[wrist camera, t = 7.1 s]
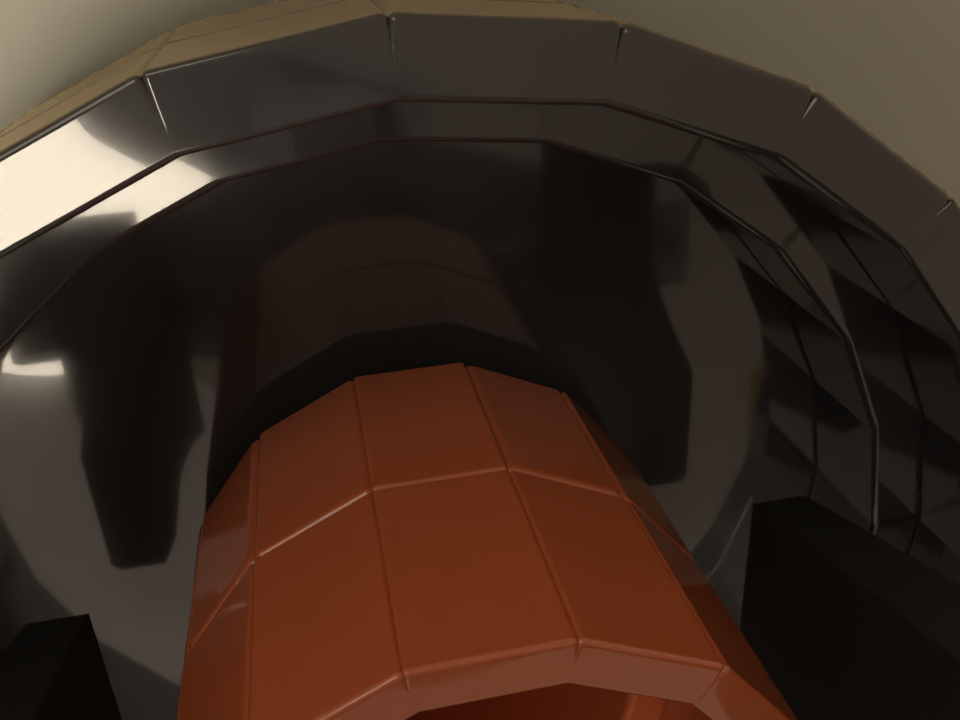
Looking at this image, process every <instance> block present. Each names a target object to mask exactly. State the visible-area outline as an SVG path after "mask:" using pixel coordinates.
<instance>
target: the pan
mask: <svg viewBox="0 0 960 720" xmlns="http://www.w3.org/2000/svg"><path fill="white" fill-rule="evenodd" d="M458 362H462V363H464V364H465V366H476V367H479V368H483V369H486V370H490V371H493V372H496V373H500V374H503V375H507V376H510V377H514V378H517V379H521V380H524V381H528V382H531V383H535V384H538V385H542V386H545V387H549V388H552V389H556V390H558V391H559V392H560V393H561V392H564V393H567V394H568V395H569V396H570V397H571V398H572V399H573V400H574V401H575V402H576V403H577V404H578V405H579V406H580V407H581V408H582V409H583V410H584V411H585V412H586V413H588V414H589V415H590V416H591V417H592V418H593V419H594V420H595V421H596V422H597V423H598V424H599V425H600V426H601V427H602V428H603V429H604V430H605V431H606V432H607V433H608V434H609V435H610V436H611V437H612V438H613V439H614V440H615V441H616V442H617V443H618V444H619V445H620V446H621V447H622V448H623V449H624V450H625V451H626V453H627V455H628V456H629V458H630V459H631V461H632V462H633V464H634V466H635V467H636V469H637V470H638V472H639V473H640V475H641V476H642V478H643V480H644V481H645V483H646V484H647V486H648V487H649V489H650V491H651V492H652V494H653V495H654V497H655V498H656V500H657V501H658V503H659V505H660V506H661V508H662V509H663V511H664V512H665V514H666V516H667V517H668V519H669V520H670V522H671V523H672V525H673V526H674V528H675V530H676V531H677V533H678V534H679V536H680V537H681V539H682V541H683V542H684V544H685V545H686V547H687V548H688V550H689V551H690V553H691V555H692V556H693V559H694V561H695V562H696V563H697V564H698V565H699V567H700V568H701V570H702V572H703V573H704V575H705V576H706V578H707V579H708V581H709V583H710V584H711V586H712V587H713V589H714V590H715V592H716V593H717V595H718V597H719V598H720V600H721V601H722V603H723V604H724V606H725V608H726V609H727V611H728V612H729V614H730V615H731V617H732V618H733V620H734V622H735V623H736V625H737V626H738V628H739V629H740V620H741V611H742V602H743V593H744V583H745V574H746V565H747V555H748V546H749V537H750V528H751V518H752V509H753V504H755V503H761V502H767V501H773V500H779V499H785V498H791V497H797V496H805V497H807V498H809V499H811V500H813V501H815V502H817V503H819V504H820V505H822V506H824V507H826V508H828V509H830V510H831V511H833V512H835V513H837V514H839V515H840V516H842V517H844V518H846V519H848V520H849V521H851V522H853V523H854V524H856V525H858V526H860V527H861V528H863V529H865V530H867V531H868V532H870V533H872V534H874V535H875V536H877V537H879V538H880V539H882V540H884V541H886V542H887V543H889V544H891V545H892V546H894V547H896V548H898V549H899V550H901V551H903V552H905V553H906V554H908V555H910V556H911V557H913V558H915V559H917V560H918V561H920V562H922V563H924V564H925V565H927V566H929V567H930V568H932V569H934V570H936V571H937V572H939V573H941V574H943V575H944V576H946V577H948V578H950V579H951V580H953V581H955V582H957V583H959V584H960V207H959V206H958V204H957V202H956V201H955V200H954V199H952V198H950V197H948V195H947V193H946V191H945V190H943V189H942V188H941V187H940V186H938V185H937V184H936V183H935V182H933V181H932V180H931V179H930V178H928V177H927V176H926V175H924V174H923V173H922V172H921V171H919V170H918V169H917V168H916V167H914V166H913V165H912V164H911V163H909V162H908V161H907V160H905V159H904V158H903V157H902V156H900V155H899V154H898V153H897V152H895V151H894V150H893V149H892V148H890V147H889V146H888V145H886V144H885V143H884V142H883V141H881V140H880V139H879V138H878V137H876V136H875V135H874V134H873V133H871V132H870V131H869V130H867V129H866V128H865V127H864V126H862V125H861V124H860V123H859V122H857V121H856V120H855V119H854V118H852V117H851V116H850V115H848V114H847V113H846V112H845V111H843V110H842V109H841V108H840V107H838V106H837V105H836V104H835V103H833V102H832V101H831V100H829V99H828V98H827V97H826V96H824V95H823V94H822V93H819V92H816V91H813V90H811V89H810V88H809V87H808V86H807V85H805V84H802V83H799V82H796V81H793V80H790V79H788V78H785V77H782V76H779V75H776V74H773V73H771V72H768V71H765V70H762V69H759V68H756V67H754V66H751V65H748V64H745V63H742V62H739V61H737V60H734V59H731V58H728V57H725V56H722V55H720V54H717V53H714V52H711V51H708V50H705V49H703V48H700V47H697V46H694V45H691V44H688V43H686V42H683V41H680V40H677V39H674V38H671V37H669V36H666V35H663V34H660V33H657V32H654V31H651V30H649V29H646V28H643V27H640V26H637V25H634V24H632V23H629V22H626V21H623V20H620V19H617V18H614V17H611V16H608V15H605V14H602V13H599V12H596V11H593V10H590V9H587V8H584V7H580V6H578V5H575V4H572V3H569V2H566V1H563V0H281V1H277V2H273V3H269V4H264V5H260V6H256V7H252V8H248V9H244V10H240V11H235V12H231V13H227V14H223V15H219V16H215V17H210V18H206V19H202V20H198V21H194V22H190V23H186V24H182V25H181V26H179V27H178V29H177V30H170V31H167V32H165V33H163V34H161V35H160V36H158V37H156V38H155V39H153V40H151V41H149V42H148V43H146V44H144V45H142V46H141V47H139V48H137V49H135V50H134V51H132V52H130V53H129V54H127V55H125V56H123V57H122V58H120V59H118V60H116V61H115V62H113V63H111V64H109V65H108V66H106V67H104V68H102V69H101V70H99V71H97V72H96V73H94V74H92V75H90V76H89V77H87V78H85V79H83V80H82V81H80V82H78V83H76V84H75V85H73V86H71V87H70V88H68V89H66V90H64V91H63V92H61V93H59V94H57V95H56V96H54V97H52V98H50V99H49V100H47V101H45V102H43V103H42V104H40V105H38V106H37V107H35V108H33V109H31V110H30V111H28V112H26V113H25V114H23V115H22V116H21V117H20V118H19V119H17V120H16V121H14V122H13V123H11V124H10V125H9V126H8V127H7V128H5V129H4V130H3V131H2V132H0V654H1V653H2V652H3V651H4V650H5V648H6V647H7V646H8V645H9V644H10V642H11V641H12V640H13V639H14V637H15V636H16V635H17V634H18V633H19V631H20V630H21V629H22V628H23V627H24V625H25V624H28V623H34V622H41V621H47V620H53V619H59V618H65V617H71V616H77V615H83V614H89V616H90V619H91V622H92V625H93V628H94V632H95V635H96V638H97V641H98V644H99V647H100V651H101V654H102V657H103V660H104V663H105V667H106V670H107V673H108V676H109V679H110V683H111V686H112V689H113V692H114V695H115V698H116V702H117V705H118V708H119V711H120V714H121V718H122V720H176V717H177V709H178V701H179V693H180V685H181V676H182V668H183V664H184V654H185V646H186V638H187V630H188V621H189V613H190V605H191V597H192V589H193V581H194V572H195V564H196V556H197V548H198V540H199V531H200V528H201V526H202V524H203V523H204V516H205V513H206V512H207V510H208V509H209V507H210V506H211V504H212V503H213V501H214V500H215V498H216V497H217V495H218V494H219V492H220V491H221V489H222V488H223V486H224V485H225V483H226V482H227V480H228V479H229V477H230V476H231V474H232V473H233V471H234V470H235V468H236V467H237V465H238V464H239V462H240V461H241V459H242V458H243V456H244V455H245V453H246V452H247V450H248V449H249V447H250V446H251V444H253V443H254V442H255V441H256V440H257V439H258V440H259V436H260V435H261V433H262V432H264V431H265V430H267V429H269V428H270V427H272V426H274V425H275V424H277V423H279V422H280V421H282V420H284V419H285V418H287V417H289V416H290V415H292V414H294V413H295V412H297V411H299V410H300V409H302V408H304V407H305V406H307V405H309V404H311V403H312V402H314V401H316V400H317V399H319V398H321V397H322V396H324V395H326V394H327V393H329V392H331V391H332V390H334V389H336V388H337V387H339V386H341V385H342V384H344V383H346V382H347V381H351V380H352V381H354V378H355V377H358V376H365V375H372V374H379V373H386V372H394V371H401V370H408V369H415V368H422V367H430V366H437V365H444V364H451V363H458Z"/></svg>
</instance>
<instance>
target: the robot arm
mask: <svg viewBox="0 0 960 720" xmlns="http://www.w3.org/2000/svg"><path fill="white" fill-rule="evenodd" d="M740 631H741V633H742V634H743V636H744V637H745V639H746V640H747V642H748V643H749V645H750V647H751V648H752V650H753V651H754V653H755V654H756V656H757V658H758V659H759V661H760V662H761V664H762V665H763V667H764V668H765V670H766V672H767V673H768V675H769V676H770V678H771V679H772V681H773V683H774V684H775V686H776V687H777V689H778V690H779V692H780V693H781V695H782V697H783V698H784V700H785V701H786V703H787V704H788V706H789V708H790V709H791V711H792V712H793V714H794V715H795V717H796V718H797V720H960V584H959V583H957V582H955V581H953V580H951V579H950V578H948V577H946V576H944V575H943V574H941V573H939V572H937V571H936V570H934V569H932V568H930V567H929V566H927V565H925V564H924V563H922V562H920V561H918V560H917V559H915V558H913V557H911V556H910V555H908V554H906V553H905V552H903V551H901V550H899V549H898V548H896V547H894V546H892V545H891V544H889V543H887V542H886V541H884V540H882V539H880V538H879V537H877V536H875V535H874V534H872V533H870V532H868V531H867V530H865V529H863V528H861V527H860V526H858V525H856V524H854V523H853V522H851V521H849V520H848V519H846V518H844V517H842V516H840V515H839V514H837V513H835V512H833V511H831V510H830V509H828V508H826V507H824V506H822V505H820V504H819V503H817V502H815V501H813V500H811V499H809V498H807V497H805V496H797V497H791V498H785V499H779V500H773V501H767V502H761V503H755V504H753V509H752V518H751V528H750V537H749V546H748V555H747V565H746V574H745V583H744V593H743V602H742V611H741V620H740ZM0 720H122V718H121V714H120V711H119V708H118V705H117V702H116V698H115V695H114V692H113V689H112V686H111V683H110V679H109V676H108V673H107V670H106V667H105V663H104V660H103V657H102V654H101V651H100V647H99V644H98V641H97V638H96V635H95V632H94V628H93V625H92V622H91V619H90V616H89V614H83V615H77V616H71V617H65V618H59V619H53V620H47V621H41V622H34V623H28V624H25V625H24V627H23V628H22V629H21V630H20V631H19V633H18V634H17V635H16V636H15V637H14V639H13V640H12V641H11V642H10V644H9V645H8V646H7V647H6V648H5V650H4V651H3V652H2V653H1V654H0Z"/></svg>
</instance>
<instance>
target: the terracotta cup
mask: <svg viewBox="0 0 960 720" xmlns="http://www.w3.org/2000/svg"><path fill="white" fill-rule="evenodd" d="M176 720H797V718H796V717H795V715H794V714H793V712H792V711H791V709H790V708H789V706H788V704H787V703H786V701H785V700H784V698H783V697H782V695H781V693H780V692H779V690H778V689H777V687H776V686H775V684H774V683H773V681H772V679H771V678H770V676H769V675H768V673H767V672H766V670H765V668H764V667H763V665H762V664H761V662H760V661H759V659H758V658H757V656H756V654H755V653H754V651H753V650H752V648H751V647H750V645H749V643H748V642H747V640H746V639H745V637H744V636H743V634H742V633H741V631H740V629H739V628H738V626H737V625H736V623H735V622H734V620H733V618H732V617H731V615H730V614H729V612H728V611H727V609H726V608H725V606H724V604H723V603H722V601H721V600H720V598H719V597H718V595H717V593H716V592H715V590H714V589H713V587H712V586H711V584H710V583H709V581H708V579H707V578H706V576H705V575H704V573H703V572H702V570H701V568H700V567H699V565H698V564H697V563H696V562H695V561H694V559H693V556H692V555H691V553H690V551H689V550H688V548H687V547H686V545H685V544H684V542H683V541H682V539H681V537H680V536H679V534H678V533H677V531H676V530H675V528H674V526H673V525H672V523H671V522H670V520H669V519H668V517H667V516H666V514H665V512H664V511H663V509H662V508H661V506H660V505H659V503H658V501H657V500H656V498H655V497H654V495H653V494H652V492H651V491H650V489H649V487H648V486H647V484H646V483H645V481H644V480H643V478H642V476H641V475H640V473H639V472H638V470H637V469H636V467H635V466H634V464H633V462H632V461H631V459H630V458H629V456H628V455H627V453H626V451H625V450H624V449H623V448H622V447H621V446H620V445H619V444H618V443H617V442H616V441H615V440H614V439H613V438H612V437H611V436H610V435H609V434H608V433H607V432H606V431H605V430H604V429H603V428H602V427H601V426H600V425H599V424H598V423H597V422H596V421H595V420H594V419H593V418H592V417H591V416H590V415H589V414H588V413H586V412H585V411H584V410H583V409H582V408H581V407H580V406H579V405H578V404H577V403H576V402H575V401H574V400H573V399H572V398H571V397H570V396H569V395H568V394H567V393H564V392H561V393H560V392H559V391H558V390H556V389H552V388H549V387H545V386H542V385H538V384H535V383H531V382H528V381H524V380H521V379H517V378H514V377H510V376H507V375H503V374H500V373H496V372H493V371H490V370H486V369H483V368H479V367H476V366H465V364H464V363H462V362H458V363H451V364H444V365H437V366H430V367H422V368H415V369H408V370H401V371H394V372H386V373H379V374H372V375H365V376H358V377H355V378H354V381H352V380H351V381H347V382H346V383H344V384H342V385H341V386H339V387H337V388H336V389H334V390H332V391H331V392H329V393H327V394H326V395H324V396H322V397H321V398H319V399H317V400H316V401H314V402H312V403H311V404H309V405H307V406H305V407H304V408H302V409H300V410H299V411H297V412H295V413H294V414H292V415H290V416H289V417H287V418H285V419H284V420H282V421H280V422H279V423H277V424H275V425H274V426H272V427H270V428H269V429H267V430H265V431H264V432H262V433H261V435H260V436H259V440H258V439H257V440H256V441H255V442H254V443H253V444H251V446H250V447H249V449H248V450H247V452H246V453H245V455H244V456H243V458H242V459H241V461H240V462H239V464H238V465H237V467H236V468H235V470H234V471H233V473H232V474H231V476H230V477H229V479H228V480H227V482H226V483H225V485H224V486H223V488H222V489H221V491H220V492H219V494H218V495H217V497H216V498H215V500H214V501H213V503H212V504H211V506H210V507H209V509H208V510H207V512H206V513H205V516H204V523H203V524H202V526H201V528H200V531H199V540H198V548H197V556H196V564H195V572H194V581H193V589H192V597H191V605H190V613H189V621H188V630H187V638H186V646H185V654H184V664H183V668H182V676H181V685H180V693H179V701H178V709H177V717H176Z"/></svg>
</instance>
